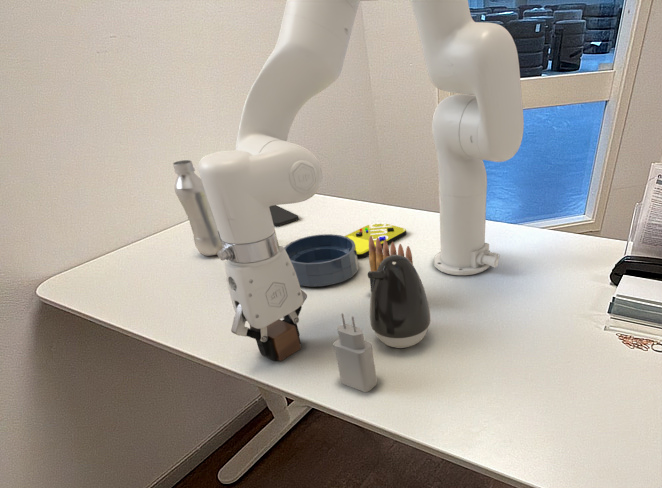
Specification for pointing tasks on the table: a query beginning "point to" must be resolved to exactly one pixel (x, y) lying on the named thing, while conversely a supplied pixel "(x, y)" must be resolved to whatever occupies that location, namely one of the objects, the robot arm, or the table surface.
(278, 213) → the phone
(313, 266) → the bowl
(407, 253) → the ammunition clip
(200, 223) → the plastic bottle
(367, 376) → the power adapter
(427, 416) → the table surface
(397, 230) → the yellow toy board
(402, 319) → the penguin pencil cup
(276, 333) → the block
